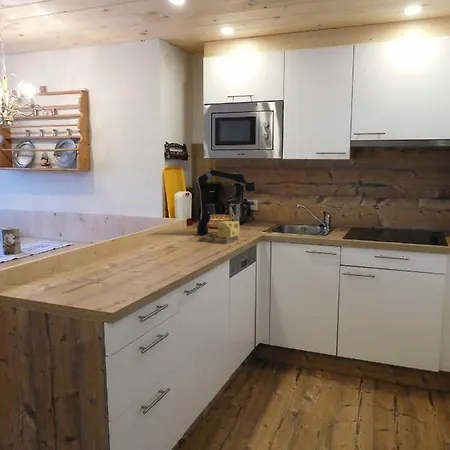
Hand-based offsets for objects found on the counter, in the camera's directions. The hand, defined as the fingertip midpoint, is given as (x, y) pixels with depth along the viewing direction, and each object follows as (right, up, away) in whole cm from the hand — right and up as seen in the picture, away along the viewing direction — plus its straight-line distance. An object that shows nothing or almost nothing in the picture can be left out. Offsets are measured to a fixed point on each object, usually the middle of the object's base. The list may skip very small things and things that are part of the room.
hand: (239, 215), depth 300 cm
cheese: (-8, -15, -12) cm, 20 cm away
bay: (-14, -16, -22) cm, 30 cm away
